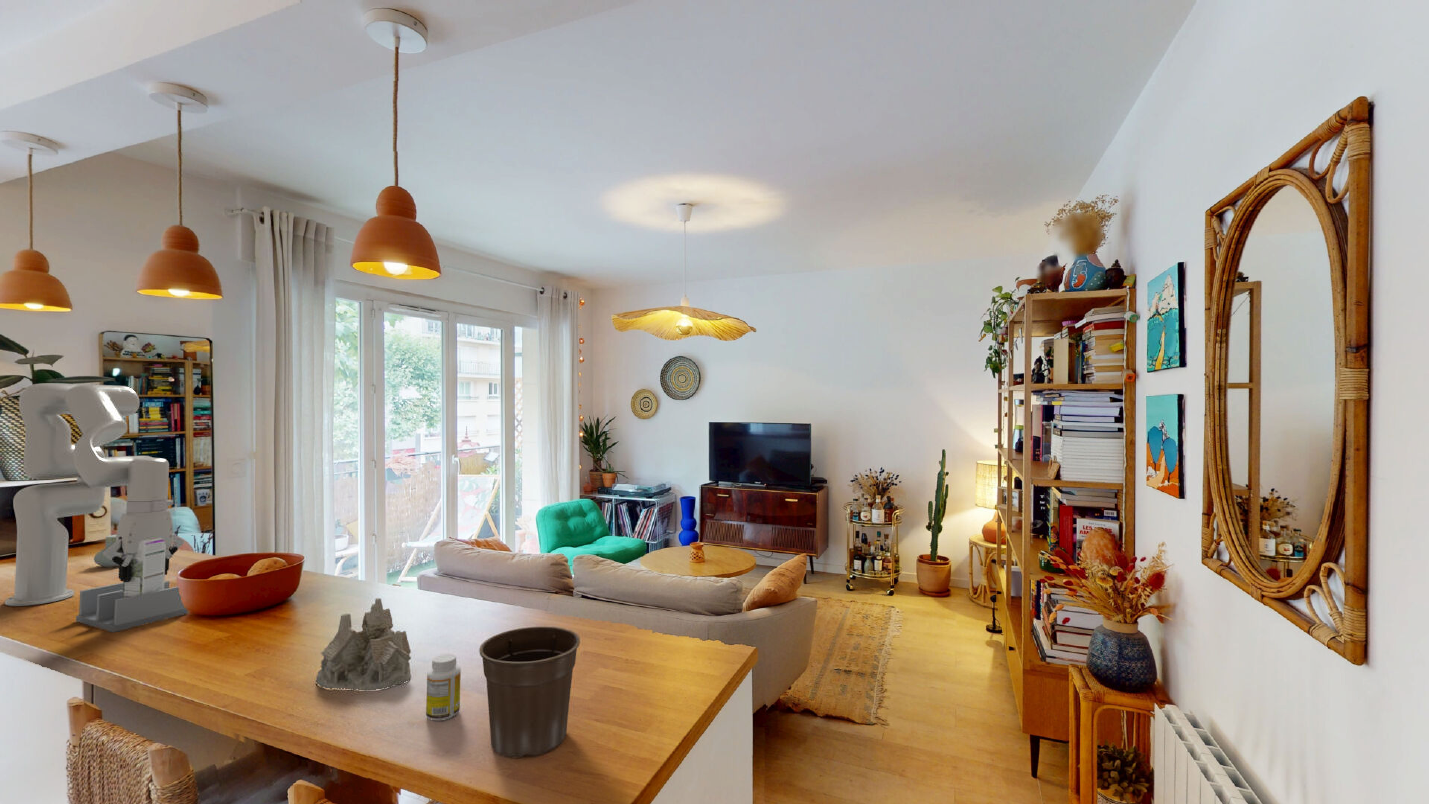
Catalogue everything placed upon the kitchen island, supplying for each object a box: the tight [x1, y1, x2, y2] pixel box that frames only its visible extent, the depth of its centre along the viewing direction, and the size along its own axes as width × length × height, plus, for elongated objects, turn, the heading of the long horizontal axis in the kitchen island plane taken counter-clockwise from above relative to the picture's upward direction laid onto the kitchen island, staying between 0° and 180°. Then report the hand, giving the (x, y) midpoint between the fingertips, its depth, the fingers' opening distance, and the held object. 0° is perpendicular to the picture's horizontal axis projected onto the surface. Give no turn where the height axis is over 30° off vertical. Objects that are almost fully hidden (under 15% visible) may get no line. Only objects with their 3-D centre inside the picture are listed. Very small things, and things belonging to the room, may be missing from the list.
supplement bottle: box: [425, 653, 462, 721], centre depth 108 cm, size 6×6×10 cm
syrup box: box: [122, 537, 166, 597], centre depth 152 cm, size 6×6×14 cm
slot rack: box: [75, 580, 189, 633], centre depth 153 cm, size 17×15×8 cm
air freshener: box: [93, 533, 122, 568], centre depth 202 cm, size 11×8×10 cm
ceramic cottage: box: [315, 597, 412, 691], centre depth 122 cm, size 16×16×15 cm
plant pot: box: [478, 626, 581, 759], centre depth 101 cm, size 16×16×16 cm
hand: (144, 577), depth 152 cm, fingers closed on syrup box, 6 cm apart
